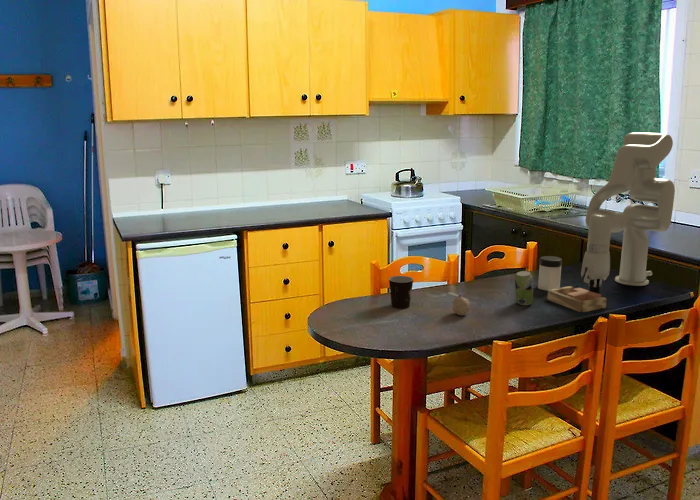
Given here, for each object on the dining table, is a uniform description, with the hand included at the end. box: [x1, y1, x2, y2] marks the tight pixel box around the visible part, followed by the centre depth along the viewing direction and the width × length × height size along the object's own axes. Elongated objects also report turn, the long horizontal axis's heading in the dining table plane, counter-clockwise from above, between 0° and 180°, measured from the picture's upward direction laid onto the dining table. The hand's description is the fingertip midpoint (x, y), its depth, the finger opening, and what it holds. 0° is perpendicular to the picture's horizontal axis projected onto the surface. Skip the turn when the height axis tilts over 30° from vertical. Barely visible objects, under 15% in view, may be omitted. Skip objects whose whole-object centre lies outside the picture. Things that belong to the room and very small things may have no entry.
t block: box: [566, 287, 602, 301], centre depth 234 cm, size 10×10×4 cm
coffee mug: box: [388, 275, 414, 310], centre depth 228 cm, size 12×9×10 cm
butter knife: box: [447, 291, 470, 301], centre depth 236 cm, size 1×24×3 cm
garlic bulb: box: [451, 294, 471, 317], centre depth 220 cm, size 7×6×8 cm
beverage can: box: [514, 270, 534, 306], centre depth 231 cm, size 6×7×12 cm
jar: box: [537, 255, 563, 292], centre depth 250 cm, size 9×8×12 cm
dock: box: [546, 285, 608, 313], centre depth 232 cm, size 12×17×4 cm
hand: (593, 296), depth 237 cm, fingers closed
